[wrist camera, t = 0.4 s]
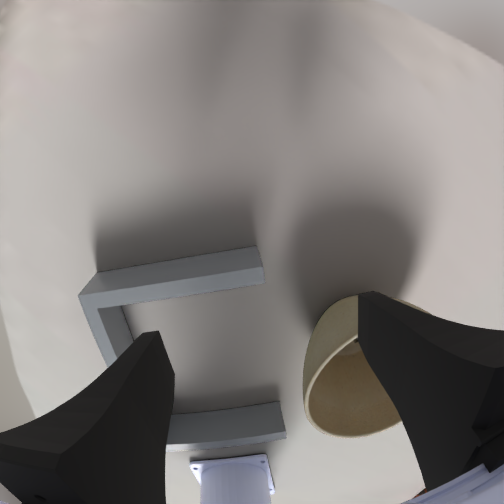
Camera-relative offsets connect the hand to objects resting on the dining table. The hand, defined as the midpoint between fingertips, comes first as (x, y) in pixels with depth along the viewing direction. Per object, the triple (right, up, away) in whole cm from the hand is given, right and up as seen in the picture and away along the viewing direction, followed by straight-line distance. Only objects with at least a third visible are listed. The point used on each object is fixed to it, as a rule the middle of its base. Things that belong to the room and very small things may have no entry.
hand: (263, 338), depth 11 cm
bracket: (-4, -4, +12) cm, 13 cm away
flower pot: (+7, -3, +12) cm, 15 cm away
